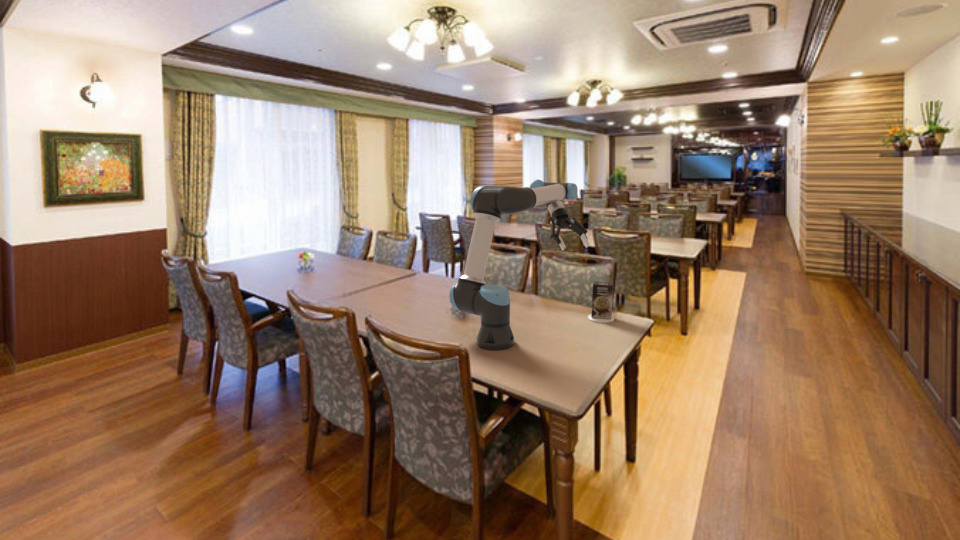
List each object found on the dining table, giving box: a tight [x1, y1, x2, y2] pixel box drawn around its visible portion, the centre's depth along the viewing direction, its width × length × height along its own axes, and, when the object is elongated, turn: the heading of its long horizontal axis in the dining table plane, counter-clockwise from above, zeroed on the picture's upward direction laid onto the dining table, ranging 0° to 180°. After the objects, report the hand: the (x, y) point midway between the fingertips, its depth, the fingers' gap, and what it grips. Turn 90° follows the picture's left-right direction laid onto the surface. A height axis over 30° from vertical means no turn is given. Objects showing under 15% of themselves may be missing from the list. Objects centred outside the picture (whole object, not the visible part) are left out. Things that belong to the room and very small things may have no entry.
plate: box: [587, 313, 615, 324], centre depth 225 cm, size 12×12×1 cm
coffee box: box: [590, 281, 614, 320], centre depth 224 cm, size 9×6×16 cm
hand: (576, 247), depth 228 cm, fingers open, 13 cm apart
